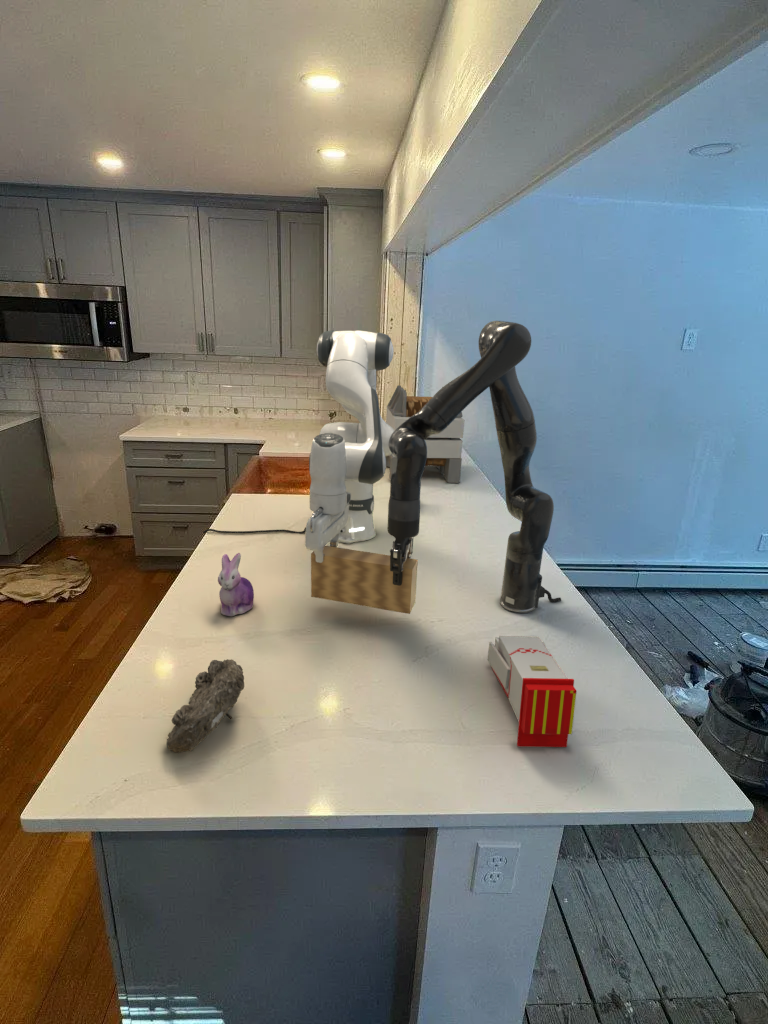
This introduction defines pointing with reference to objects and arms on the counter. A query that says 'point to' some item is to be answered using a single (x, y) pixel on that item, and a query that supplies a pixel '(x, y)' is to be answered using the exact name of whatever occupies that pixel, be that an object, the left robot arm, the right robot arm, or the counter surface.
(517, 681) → the toy
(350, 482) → the left robot arm
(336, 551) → the box
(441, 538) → the counter surface
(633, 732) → the counter surface
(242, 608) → the figurine
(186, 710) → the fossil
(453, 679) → the counter surface
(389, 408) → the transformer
